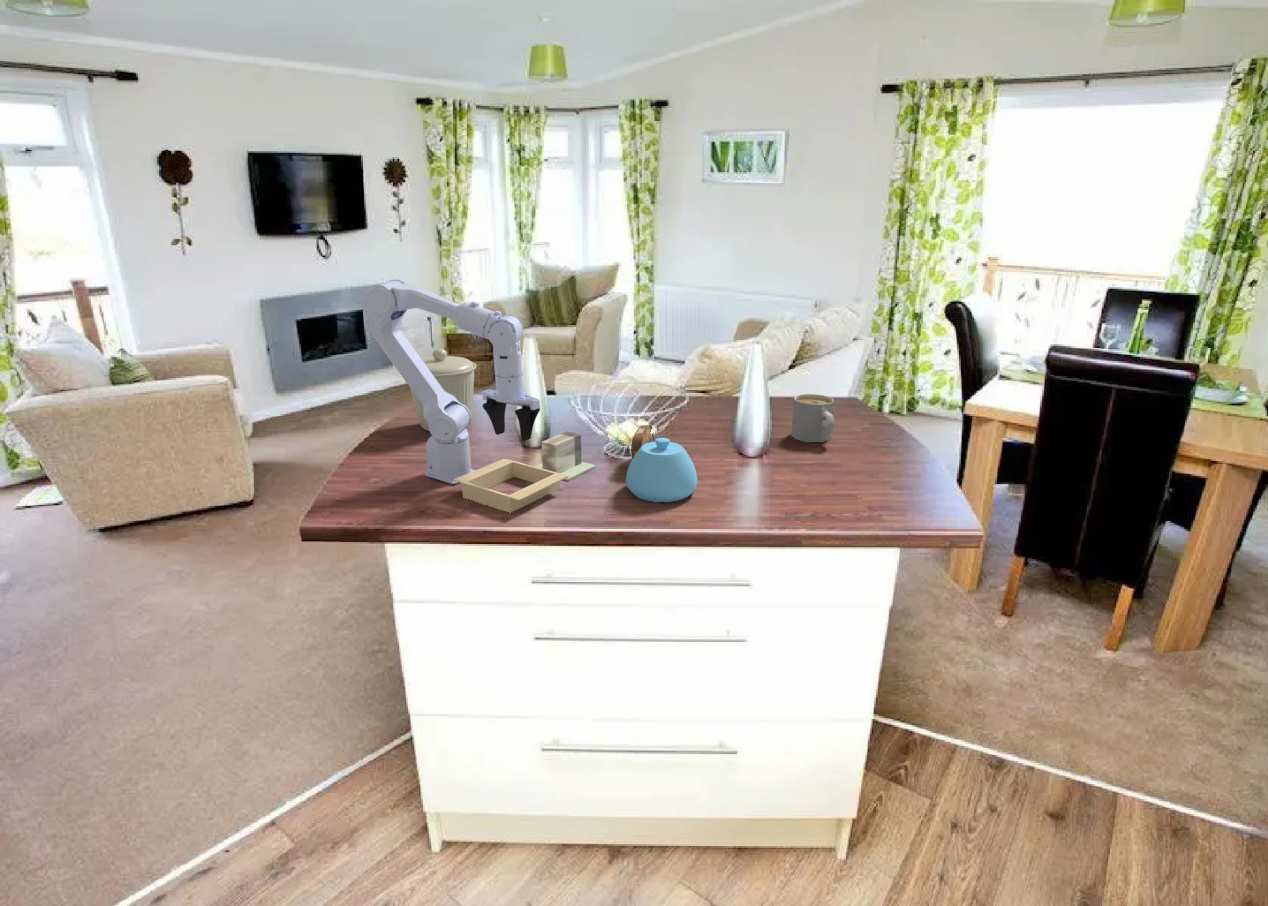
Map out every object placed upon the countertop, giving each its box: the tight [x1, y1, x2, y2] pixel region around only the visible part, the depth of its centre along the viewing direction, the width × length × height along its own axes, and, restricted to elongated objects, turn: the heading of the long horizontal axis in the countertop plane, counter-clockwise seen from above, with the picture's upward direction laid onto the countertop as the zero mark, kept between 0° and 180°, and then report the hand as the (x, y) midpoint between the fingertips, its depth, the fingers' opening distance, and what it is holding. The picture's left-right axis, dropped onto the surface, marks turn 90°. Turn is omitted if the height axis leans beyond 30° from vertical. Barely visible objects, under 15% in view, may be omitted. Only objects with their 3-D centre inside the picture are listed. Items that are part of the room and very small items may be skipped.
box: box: [541, 430, 583, 473], centre depth 165 cm, size 4×9×7 cm, turn 146°
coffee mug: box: [790, 393, 835, 443], centre depth 186 cm, size 13×10×10 cm
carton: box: [453, 458, 569, 514], centre depth 153 cm, size 18×15×4 cm
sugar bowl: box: [625, 437, 698, 503], centre depth 153 cm, size 15×15×12 cm
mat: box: [534, 461, 597, 482], centre depth 167 cm, size 11×10×1 cm
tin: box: [630, 424, 655, 460], centre depth 169 cm, size 15×3×8 cm, turn 168°
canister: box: [410, 348, 477, 432], centre depth 191 cm, size 18×18×21 cm
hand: (513, 436), depth 157 cm, fingers open, 7 cm apart
